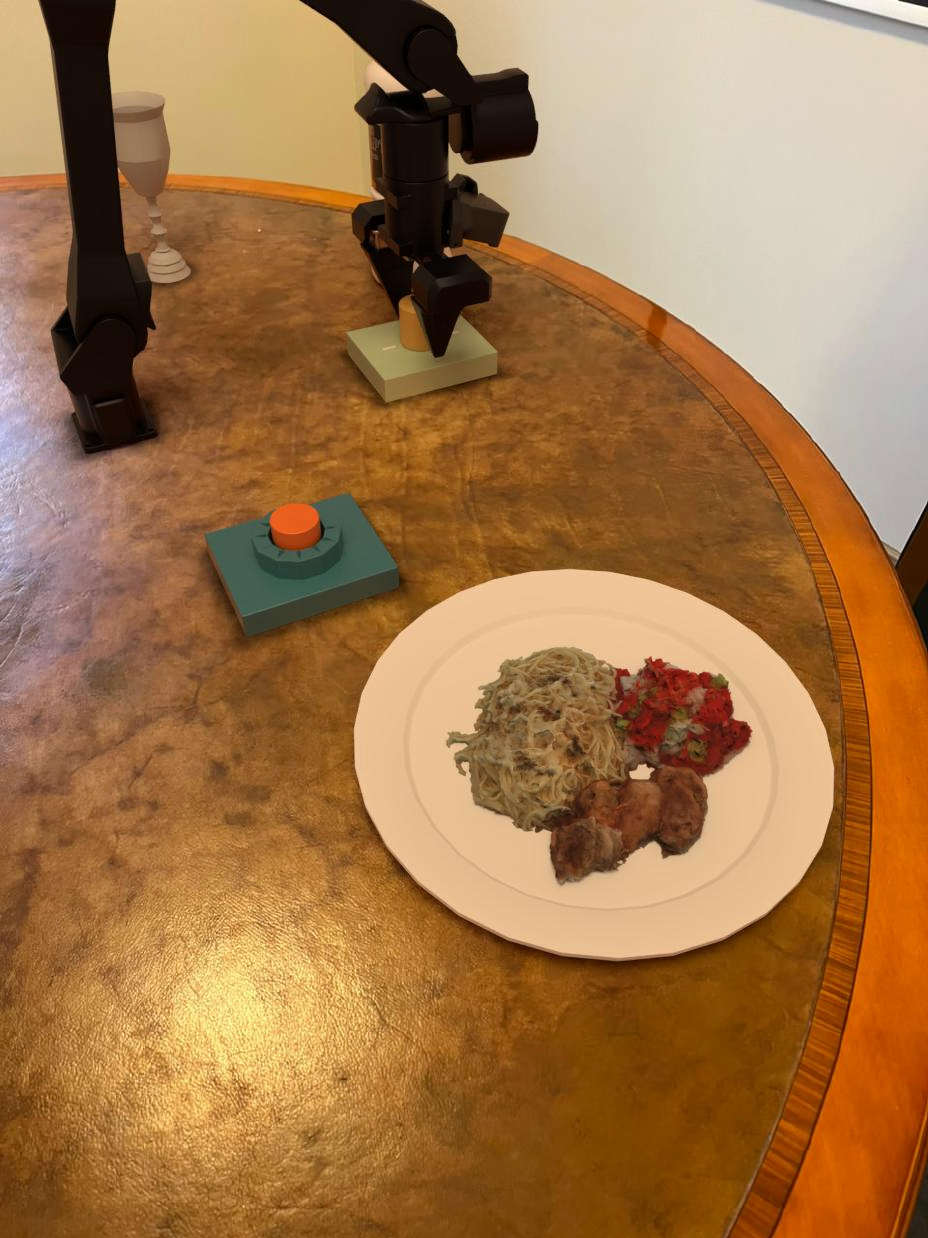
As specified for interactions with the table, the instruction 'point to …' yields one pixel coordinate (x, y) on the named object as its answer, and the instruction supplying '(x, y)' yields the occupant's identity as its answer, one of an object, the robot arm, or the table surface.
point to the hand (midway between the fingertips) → (420, 336)
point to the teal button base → (301, 567)
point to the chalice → (147, 169)
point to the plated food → (593, 764)
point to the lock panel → (419, 360)
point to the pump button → (295, 526)
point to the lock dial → (411, 327)
